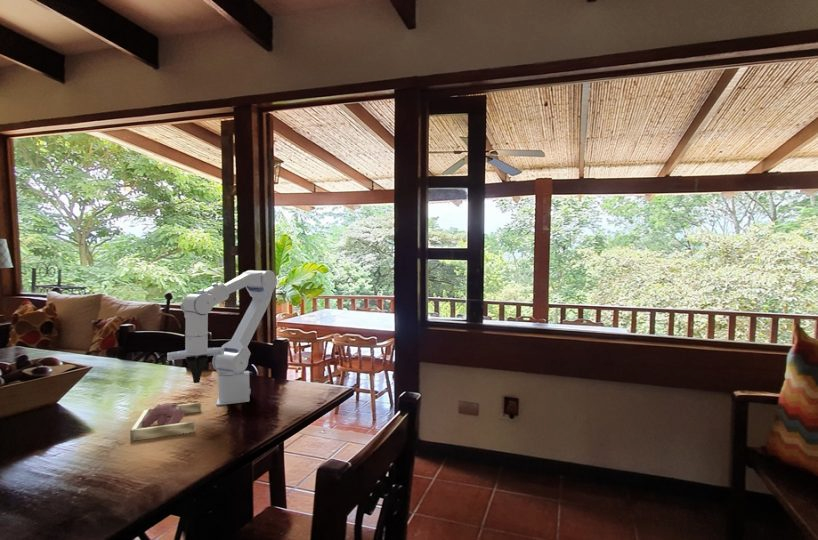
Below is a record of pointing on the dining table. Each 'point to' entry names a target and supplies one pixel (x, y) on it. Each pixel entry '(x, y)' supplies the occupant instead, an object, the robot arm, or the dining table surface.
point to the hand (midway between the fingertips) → (196, 382)
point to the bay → (163, 430)
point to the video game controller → (164, 415)
